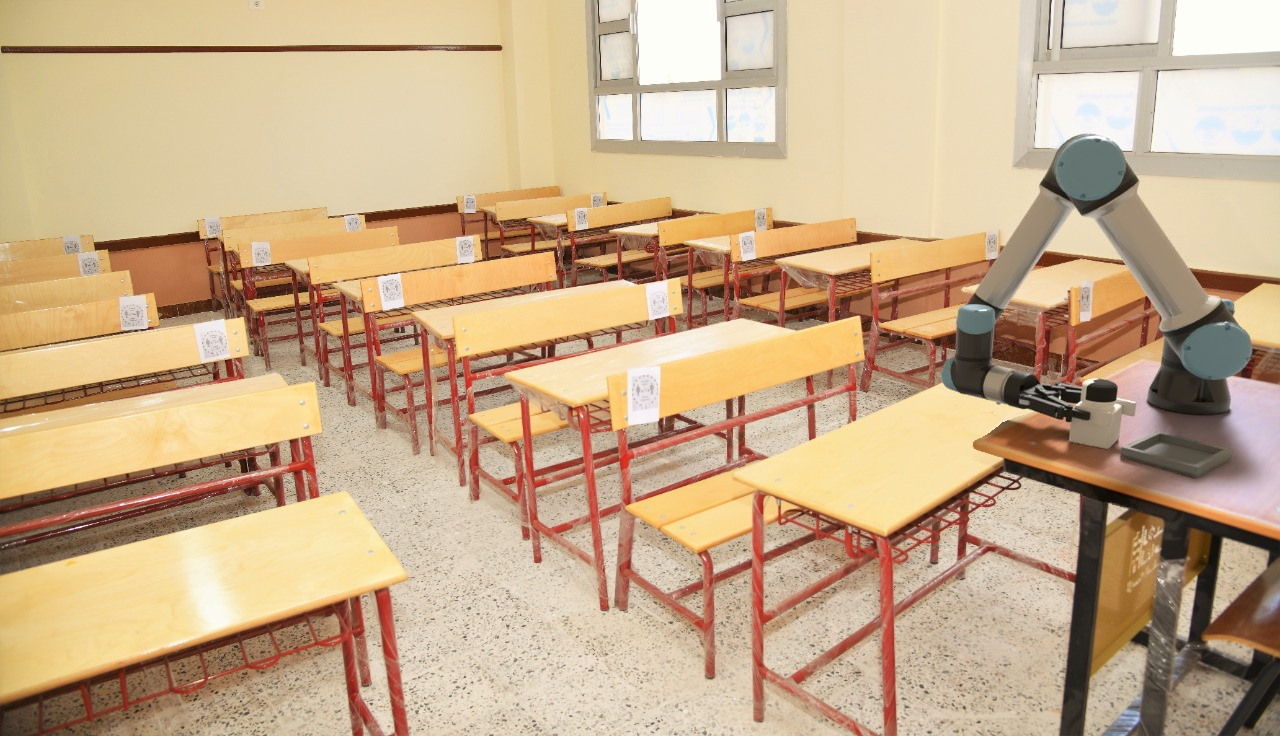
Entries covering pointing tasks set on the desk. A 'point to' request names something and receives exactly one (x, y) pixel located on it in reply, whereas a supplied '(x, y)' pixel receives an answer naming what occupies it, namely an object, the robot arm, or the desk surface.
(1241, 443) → the desk surface
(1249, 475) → the desk surface
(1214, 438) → the desk surface
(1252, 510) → the desk surface
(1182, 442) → the bottle tray
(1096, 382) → the medicine bottle
